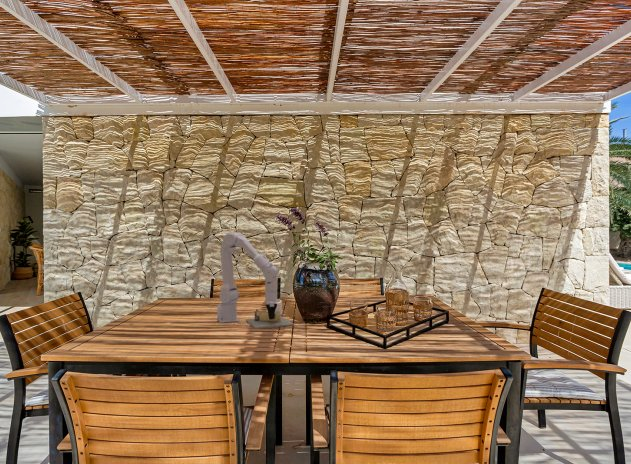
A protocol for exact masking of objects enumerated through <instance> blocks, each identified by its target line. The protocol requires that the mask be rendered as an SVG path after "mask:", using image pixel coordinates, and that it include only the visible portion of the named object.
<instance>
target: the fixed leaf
mask: <svg viewBox="0 0 631 464" xmlns="http://www.w3.org/2000/svg"><path fill="white" fill-rule="evenodd" d="M255 311H259V309H255ZM260 312H261V313H268V311H267V310H266V311H260ZM275 314H280V311H275ZM254 318H255V321H259V320H260V316H255V315H254Z"/></svg>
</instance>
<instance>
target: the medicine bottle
mask: <svg viewBox="0 0 631 464" xmlns="http://www.w3.org/2000/svg"><path fill="white" fill-rule="evenodd" d="M277 300H280V301H279V302H276V303H274V304H277V307H276V310H275V311H280V314H281V315H283V300H281V293H280V292H279V291H277ZM266 304H269V303H266ZM267 311H268V310H267V309H266V312H267Z"/></svg>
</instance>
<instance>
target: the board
mask: <svg viewBox="0 0 631 464" xmlns="http://www.w3.org/2000/svg"><path fill="white" fill-rule="evenodd" d="M245 322H247V324H249V325H250V326H251V327H252V328H254V330H259V329H272V328H283V327H294V326H295V323H294V322H292V321H290V320H288V319H287V318H286V317H284V316H282V315H281V321H260V320H259V321H255V317H254V318H246V319H245Z"/></svg>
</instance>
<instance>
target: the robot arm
mask: <svg viewBox="0 0 631 464" xmlns="http://www.w3.org/2000/svg"><path fill="white" fill-rule="evenodd" d="M237 247H238V248H243V249H242V250H245V252H246V253H247V254H248V255H250V256H251V258H253V263H254V265H256V266H257V268H259V270H260V271H261V272H262V275H263V277H264V289H265V290H264V291H265V292H264V293H265V294H264V299H265V300H264V303H266V304H264V305H265V308H266V311H267V310H268V316H269V319H274V314H275V310H276V307H277V304H274V303H276V302H279V301H280V300H281V299H280V300H277V292H278V275H279V273H280V272H279V268H278V266H276V265H275V264H273V262H270V260H268V258H267V256H266V254H262V253H259V252H258V251H257V250H256V249H255V248H254V246H253V245H252V244H251V242H250V241H249V240H248V238H247V237H246V236H245V235H244V234H243V233H242V232H240V231H238V232H237V231H236V232H227V233H226V234H225V235H224V236H223V237H222V243H221V246H220V247H219V251H220V252H219V253H220V262H221V274H222V286H221V287H220V293H219V300H220V303H217V306H216V311H217V312H216V313H217V314H216V315H217V317H216V320H217V321H218V322H219V324H220V323H221V324H222V323H234V322H240V320H239V318H238V308H237V307H238V303H237V302H238V301H237V300H238V299H239V297H240V292H239V291H238V287H237V284H236V283H235V275H234V267H233V266H234V264H233V253H232V252H233V251H234V250H235V248H237ZM267 303H269V304H267Z"/></svg>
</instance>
